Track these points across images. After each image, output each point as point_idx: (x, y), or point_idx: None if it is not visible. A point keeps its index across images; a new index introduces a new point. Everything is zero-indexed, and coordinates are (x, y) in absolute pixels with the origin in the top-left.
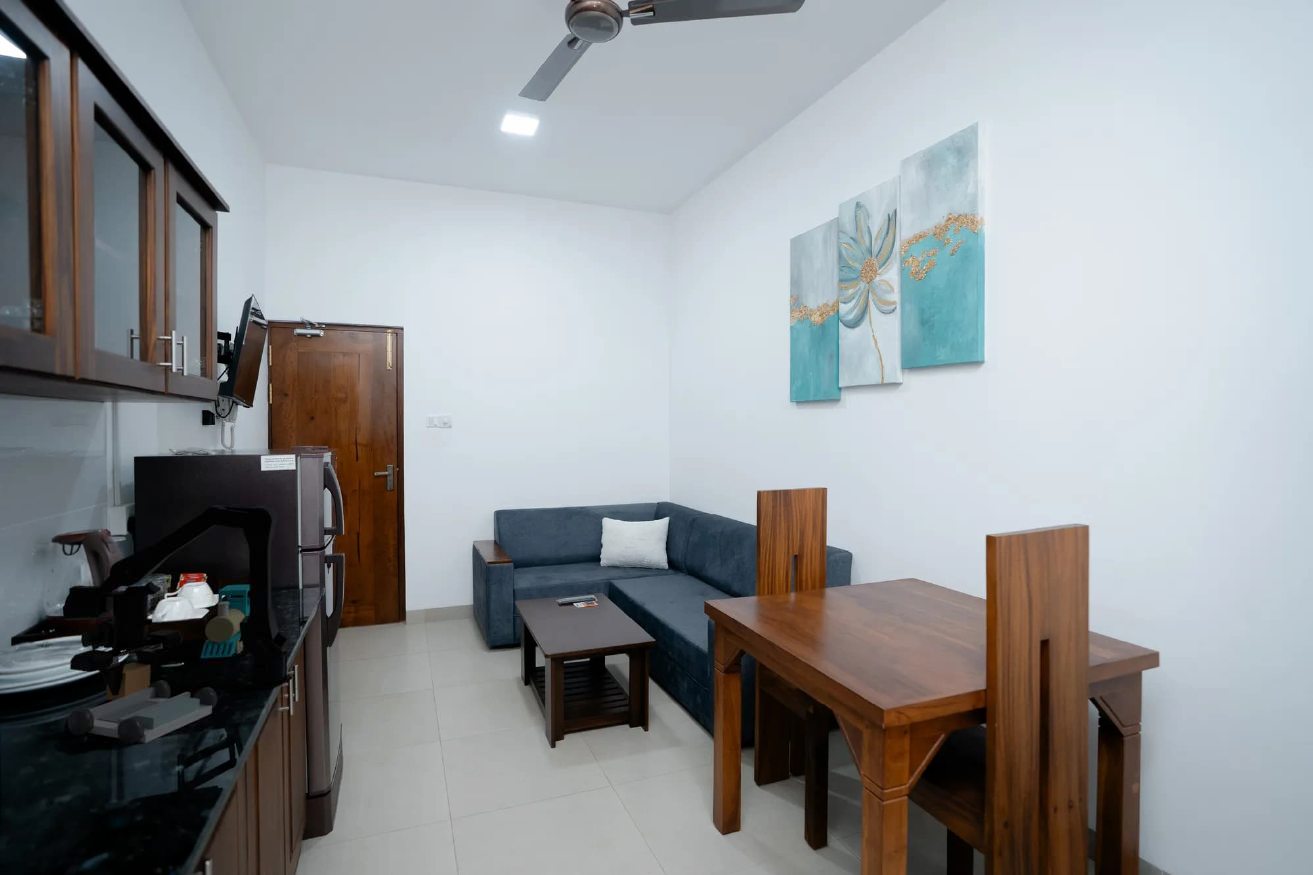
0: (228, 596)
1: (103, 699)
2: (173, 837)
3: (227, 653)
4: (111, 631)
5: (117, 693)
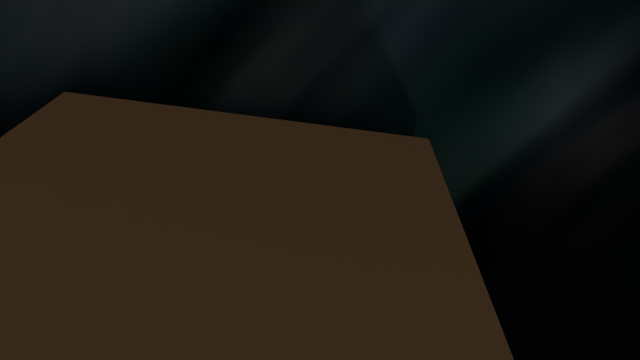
0: None
1: (86, 3)
2: None
3: None
4: None
5: None
